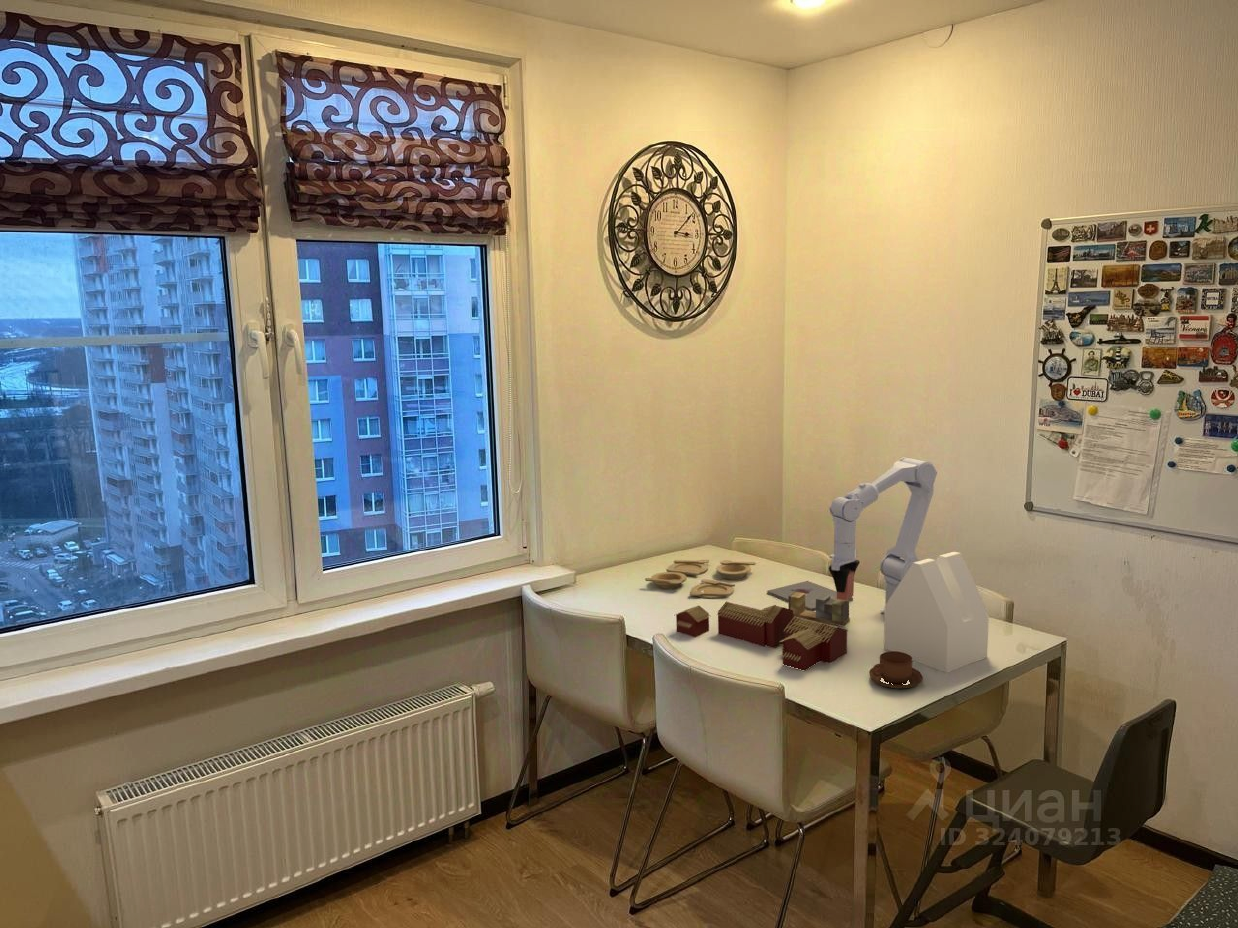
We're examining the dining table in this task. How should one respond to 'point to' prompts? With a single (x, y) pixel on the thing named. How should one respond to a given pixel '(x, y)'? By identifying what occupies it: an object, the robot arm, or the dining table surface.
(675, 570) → the tableware set
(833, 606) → the rack
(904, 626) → the milk carton
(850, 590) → the red rectangular block
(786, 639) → the toy houses
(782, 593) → the play button award
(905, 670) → the cup and saucer
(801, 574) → the dining table surface
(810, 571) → the dining table surface
